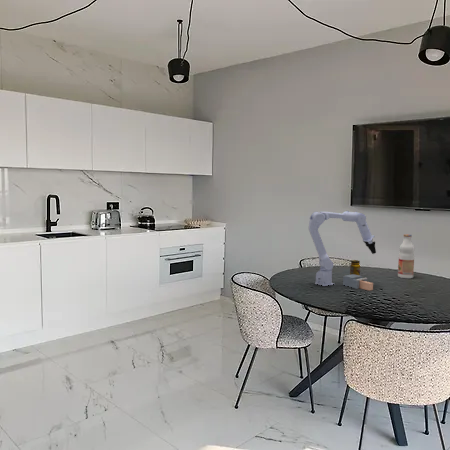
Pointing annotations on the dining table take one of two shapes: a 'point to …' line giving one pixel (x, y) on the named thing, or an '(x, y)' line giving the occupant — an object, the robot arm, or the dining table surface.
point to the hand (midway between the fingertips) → (373, 251)
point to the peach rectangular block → (365, 285)
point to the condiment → (355, 267)
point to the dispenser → (353, 280)
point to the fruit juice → (406, 258)
